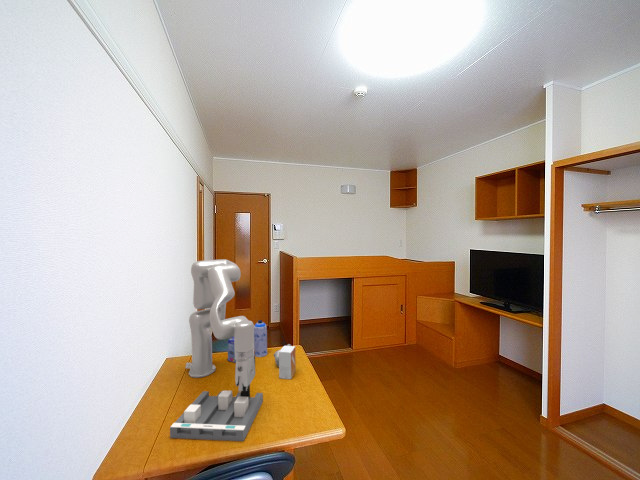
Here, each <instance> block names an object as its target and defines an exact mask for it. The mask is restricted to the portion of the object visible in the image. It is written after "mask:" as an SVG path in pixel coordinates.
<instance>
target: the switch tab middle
mask: <svg viewBox="0 0 640 480" xmlns="http://www.w3.org/2000/svg"><path fill="white" fill-rule="evenodd" d="M220 392H221V393H220ZM220 392H219V393H220V395H219V396H218V410H227V409H228V407H229V406H230V404H231V403H232V397H233V390H223V389H222V391H220Z"/></svg>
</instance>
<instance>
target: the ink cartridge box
mask: <svg viewBox="0 0 640 480" xmlns="http://www.w3.org/2000/svg"><path fill="white" fill-rule="evenodd" d="M227 361H228V362H231V363H236V360H235V353H234V337H230V338H228V339H227Z"/></svg>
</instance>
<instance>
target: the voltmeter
mask: <svg viewBox="0 0 640 480" xmlns="http://www.w3.org/2000/svg"><path fill="white" fill-rule="evenodd" d="M280 336H281V337H282V339H283V341H282V342H281V345H282V347H283V346H292V344H290V343H288V344H287V341H286V339H285V338H284V336H283V335H282V334H281V335H280ZM280 350H281V349H279V350H276V351H275V352H274V353H273V357H274V361H275V362H274V363H275V365H276V366H277V367H279V351H280Z"/></svg>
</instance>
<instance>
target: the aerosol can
mask: <svg viewBox="0 0 640 480" xmlns="http://www.w3.org/2000/svg"><path fill="white" fill-rule="evenodd" d="M267 328H268V327H267V324H266V323H265V322H264V321H263V320H261V319H259V320H258V321H257V322H256V323H255V324H254V349H255V358H262V357H266V356H267V355H268V330H267Z"/></svg>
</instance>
